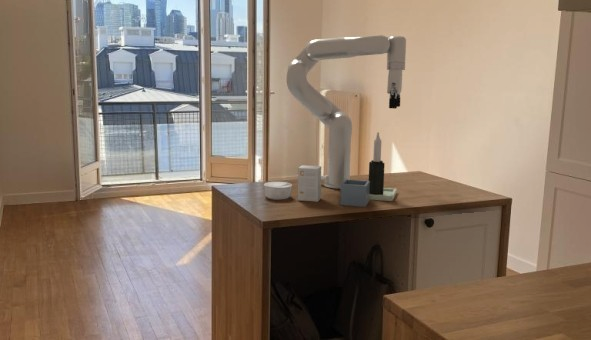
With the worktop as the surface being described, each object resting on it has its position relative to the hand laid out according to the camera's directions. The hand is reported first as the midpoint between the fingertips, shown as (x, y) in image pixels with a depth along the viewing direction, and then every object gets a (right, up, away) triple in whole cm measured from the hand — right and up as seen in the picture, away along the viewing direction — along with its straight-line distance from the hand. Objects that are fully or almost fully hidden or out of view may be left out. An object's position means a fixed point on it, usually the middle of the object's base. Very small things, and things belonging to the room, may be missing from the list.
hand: (394, 107), depth 255 cm
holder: (-19, -39, -24) cm, 50 cm away
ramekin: (-49, -38, -16) cm, 64 cm away
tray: (-9, -37, -11) cm, 40 cm away
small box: (-37, -38, -19) cm, 56 cm away
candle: (-10, -36, -11) cm, 39 cm away
